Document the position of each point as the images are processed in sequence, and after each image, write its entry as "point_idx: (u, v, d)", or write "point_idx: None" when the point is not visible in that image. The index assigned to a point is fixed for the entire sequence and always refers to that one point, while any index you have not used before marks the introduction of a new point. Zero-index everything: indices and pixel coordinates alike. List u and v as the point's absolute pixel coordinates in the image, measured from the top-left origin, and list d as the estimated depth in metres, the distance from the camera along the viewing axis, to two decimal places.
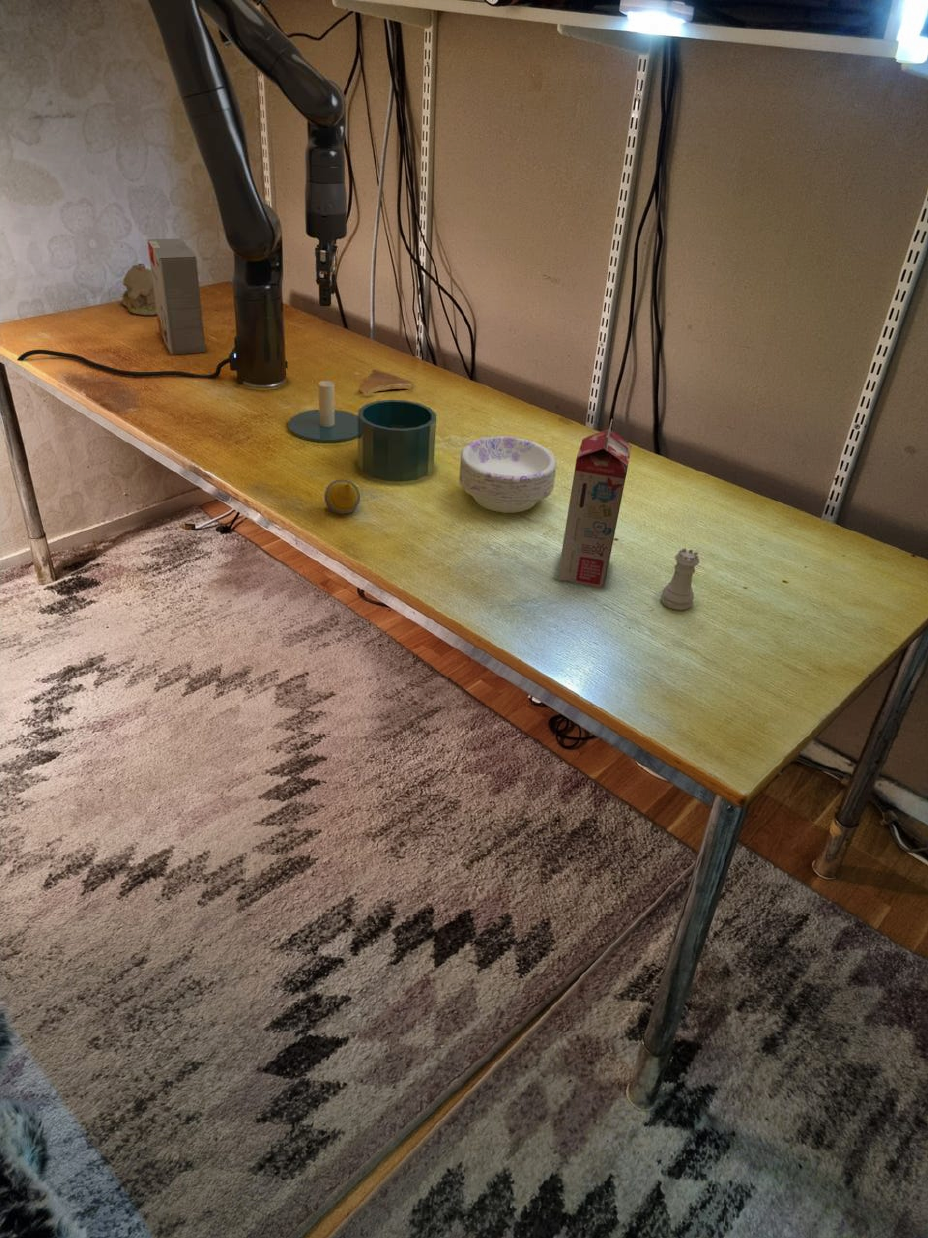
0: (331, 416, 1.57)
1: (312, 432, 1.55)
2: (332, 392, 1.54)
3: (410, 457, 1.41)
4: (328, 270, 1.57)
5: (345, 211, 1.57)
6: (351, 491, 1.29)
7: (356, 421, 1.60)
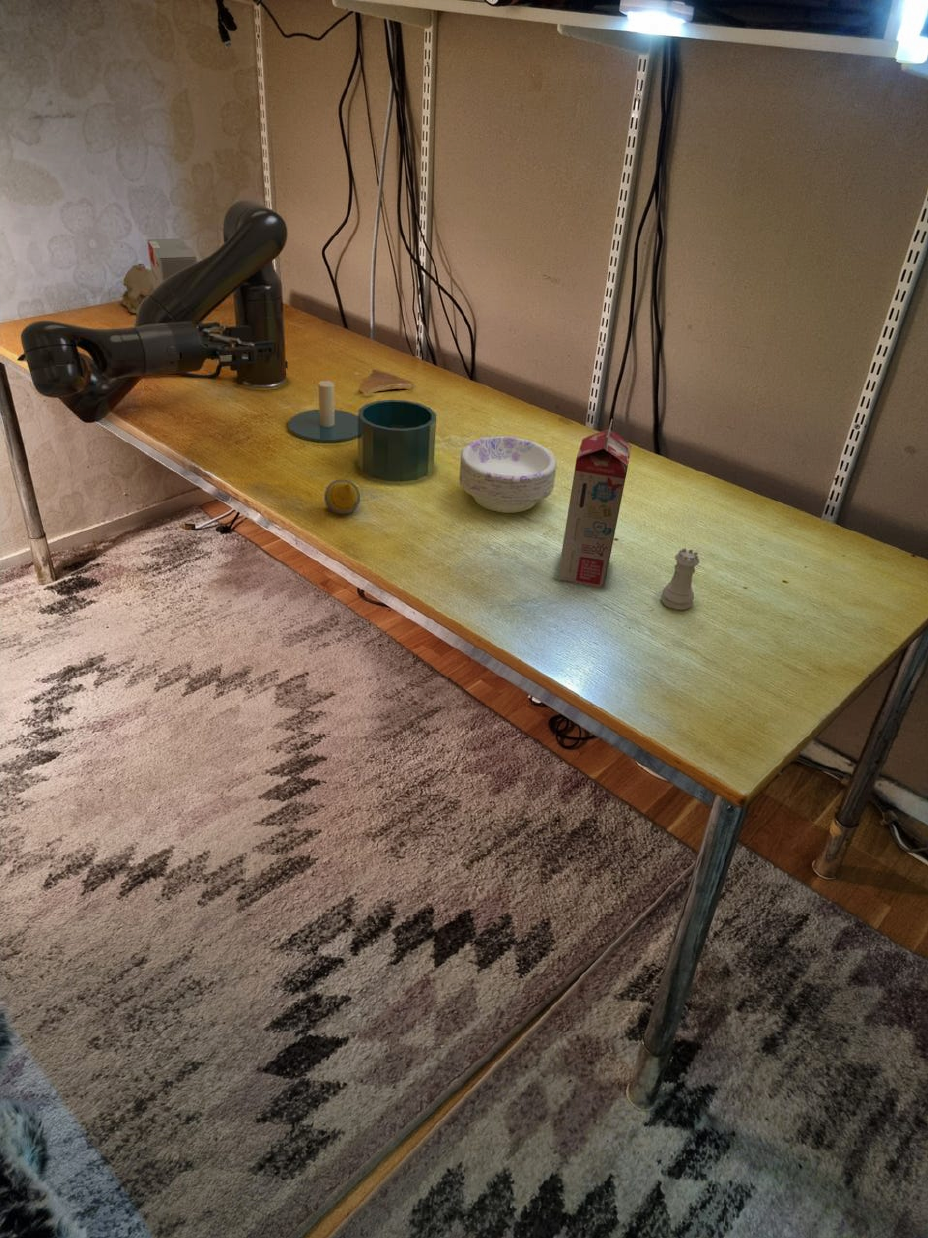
0: (331, 416, 1.57)
1: (312, 432, 1.55)
2: (332, 392, 1.54)
3: (410, 457, 1.41)
4: (241, 350, 1.34)
5: (167, 326, 1.31)
6: (351, 491, 1.29)
7: (356, 421, 1.60)
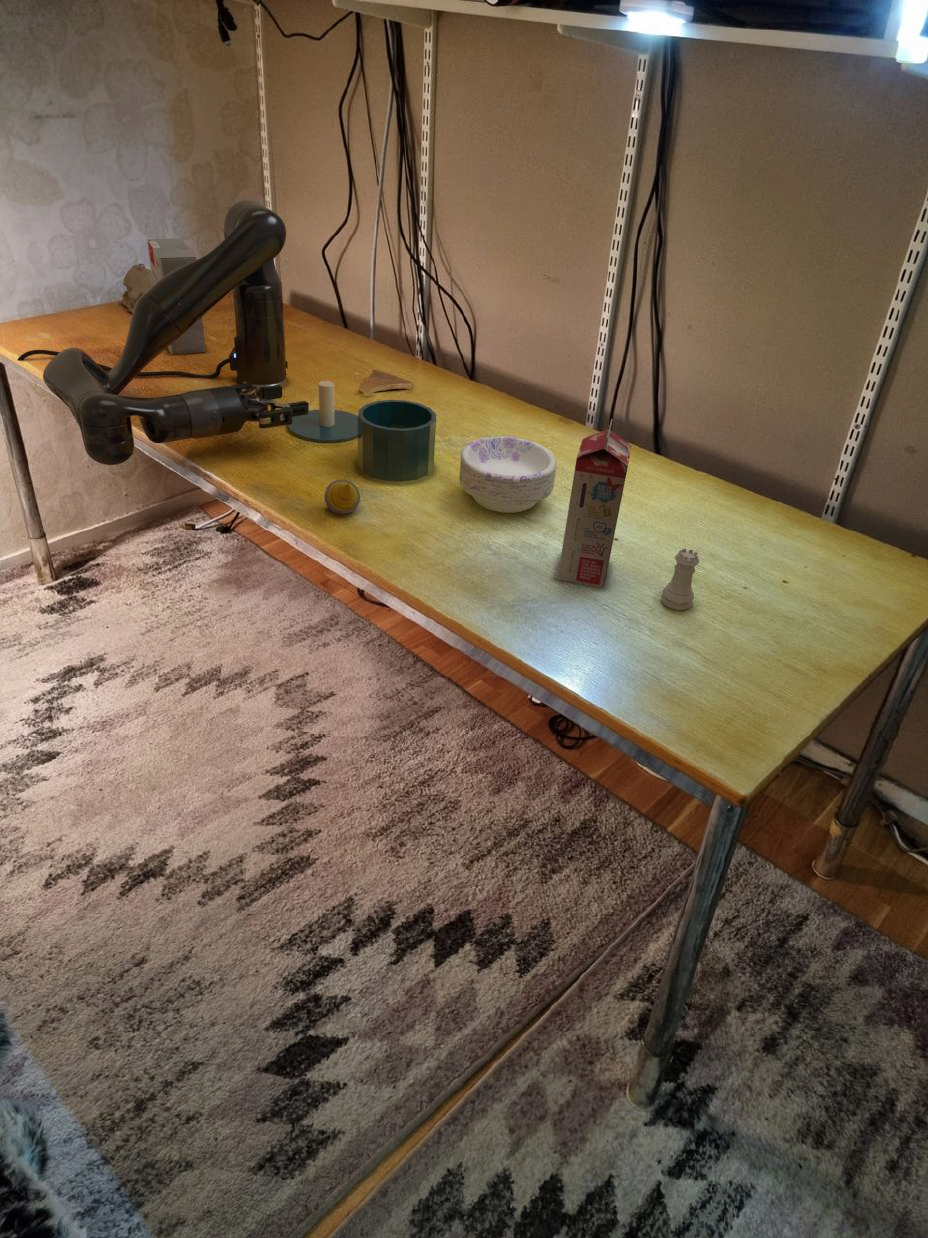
0: (331, 416, 1.57)
1: (312, 432, 1.55)
2: (332, 392, 1.54)
3: (410, 457, 1.41)
4: (279, 413, 1.42)
5: (210, 393, 1.39)
6: (351, 491, 1.29)
7: (356, 421, 1.60)
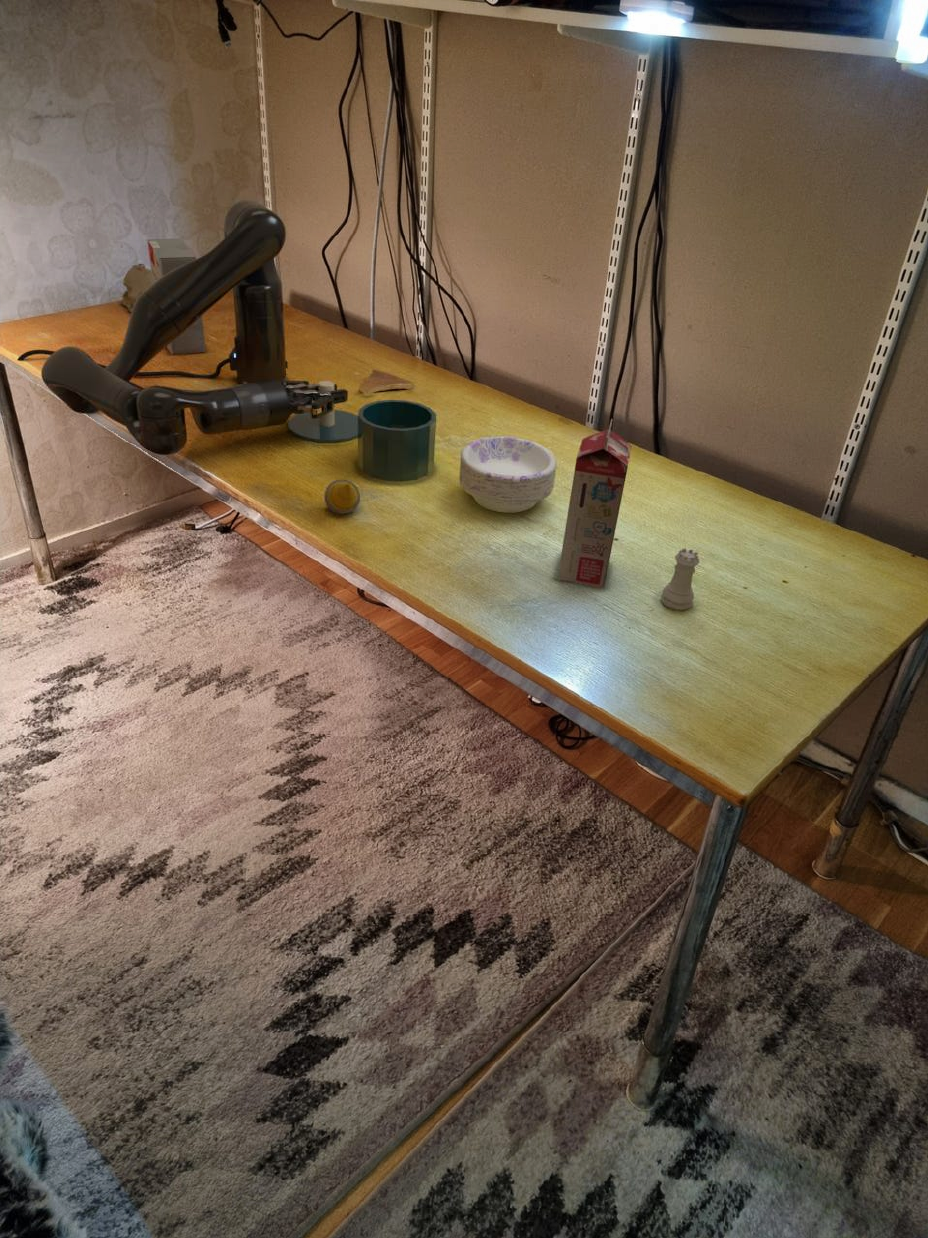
0: (331, 416, 1.57)
1: (312, 432, 1.55)
2: None
3: (410, 457, 1.41)
4: (326, 401, 1.50)
5: (259, 386, 1.44)
6: (351, 491, 1.29)
7: (356, 421, 1.60)
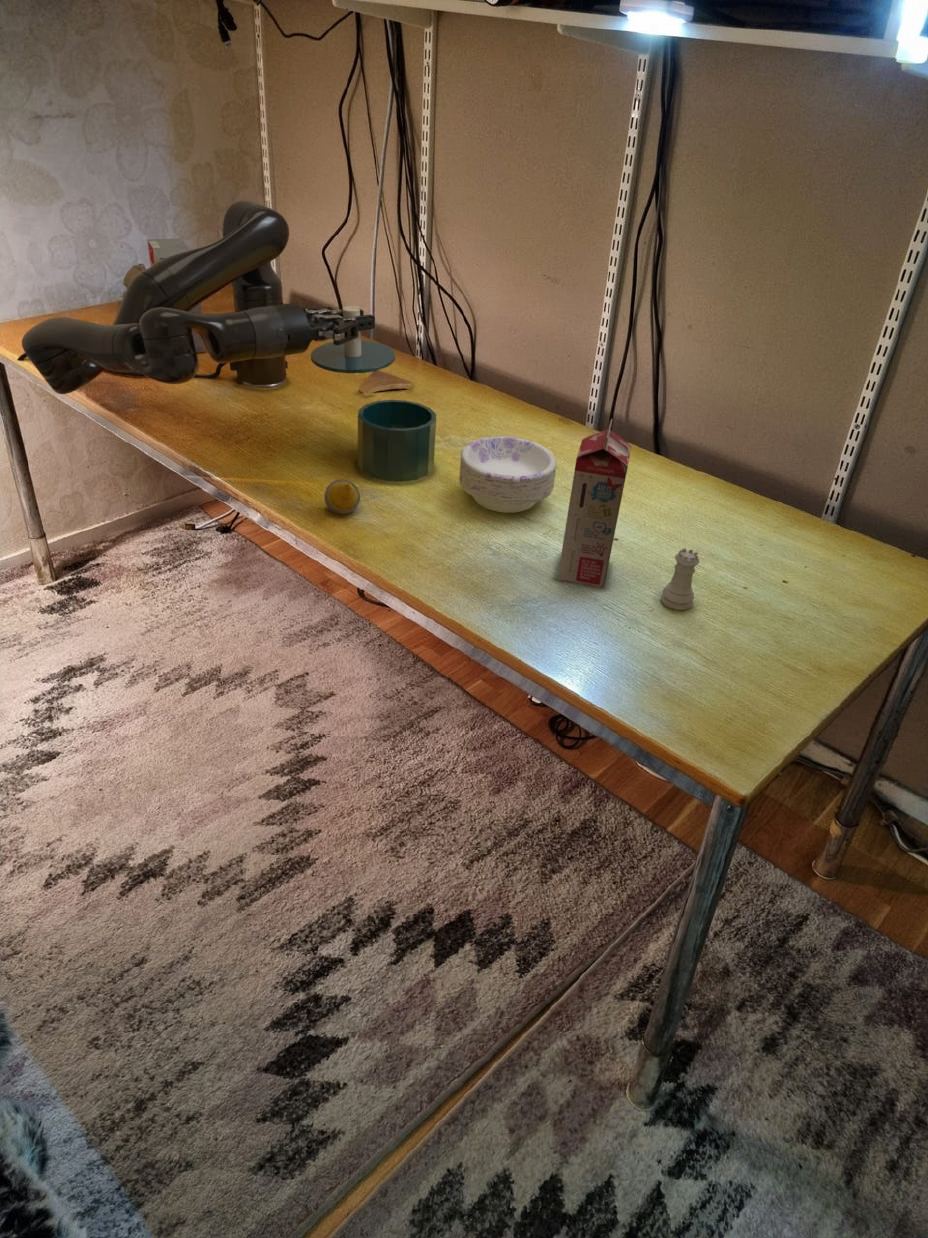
0: (357, 345, 1.43)
1: (335, 362, 1.42)
2: None
3: (410, 457, 1.41)
4: (350, 326, 1.36)
5: (275, 309, 1.32)
6: (351, 491, 1.29)
7: (385, 351, 1.47)
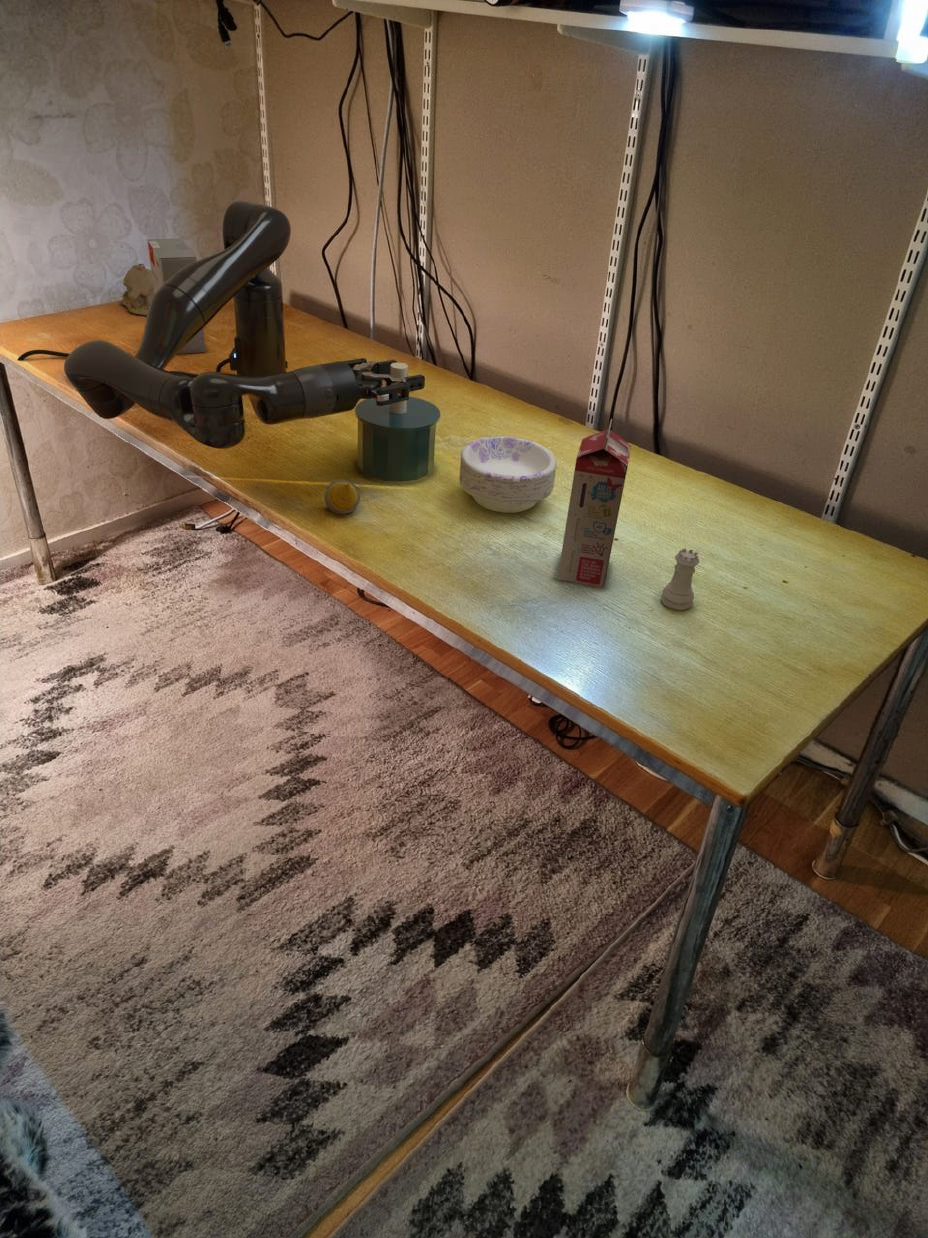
0: (403, 402, 1.41)
1: (381, 419, 1.39)
2: (405, 375, 1.39)
3: (410, 457, 1.41)
4: (397, 388, 1.32)
5: (324, 369, 1.29)
6: (351, 491, 1.29)
7: (430, 408, 1.45)
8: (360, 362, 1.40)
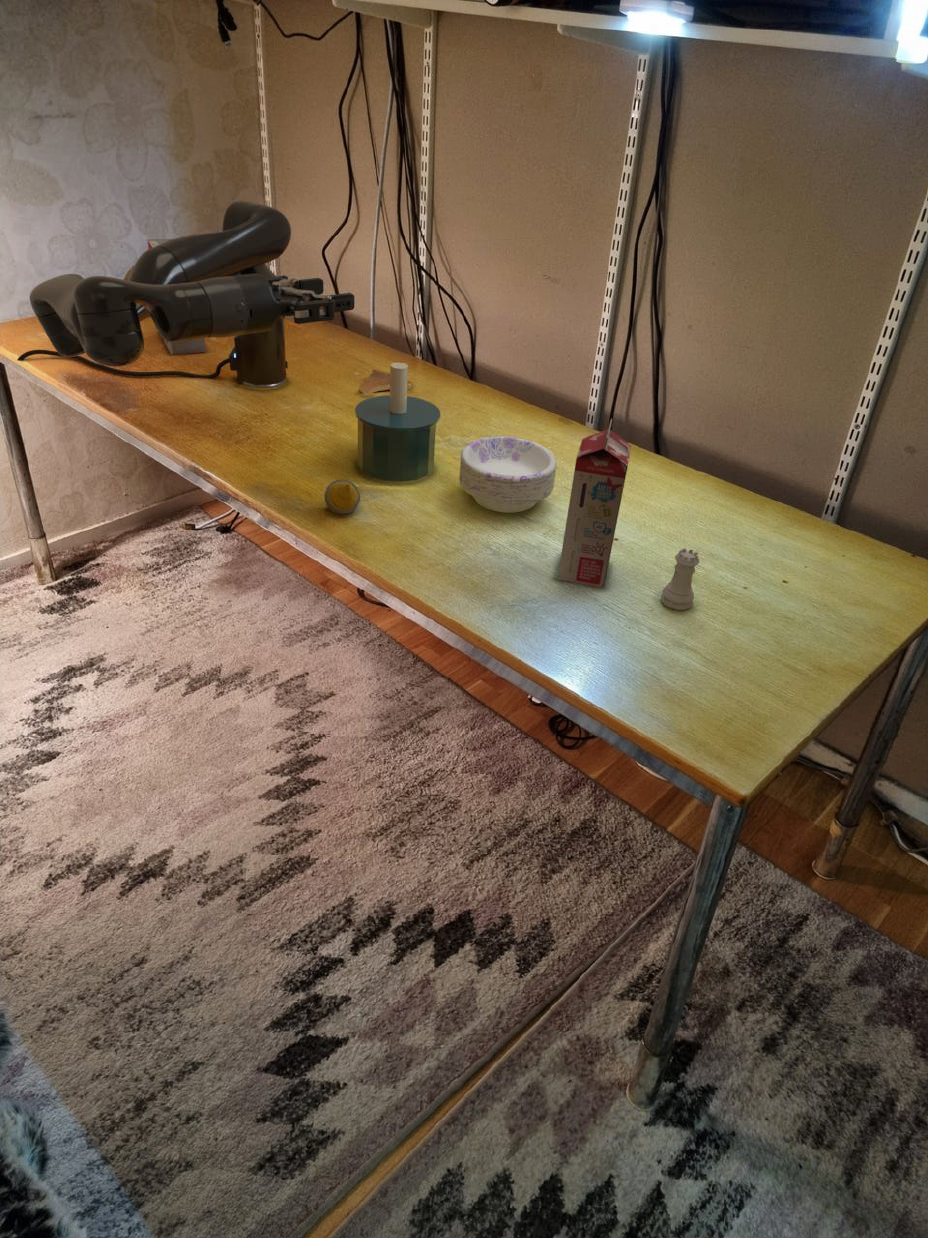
0: (403, 402, 1.41)
1: (381, 419, 1.39)
2: (405, 375, 1.39)
3: (410, 457, 1.41)
4: (318, 304, 1.17)
5: (235, 279, 1.14)
6: (351, 491, 1.29)
7: (430, 408, 1.45)
8: (281, 279, 1.25)
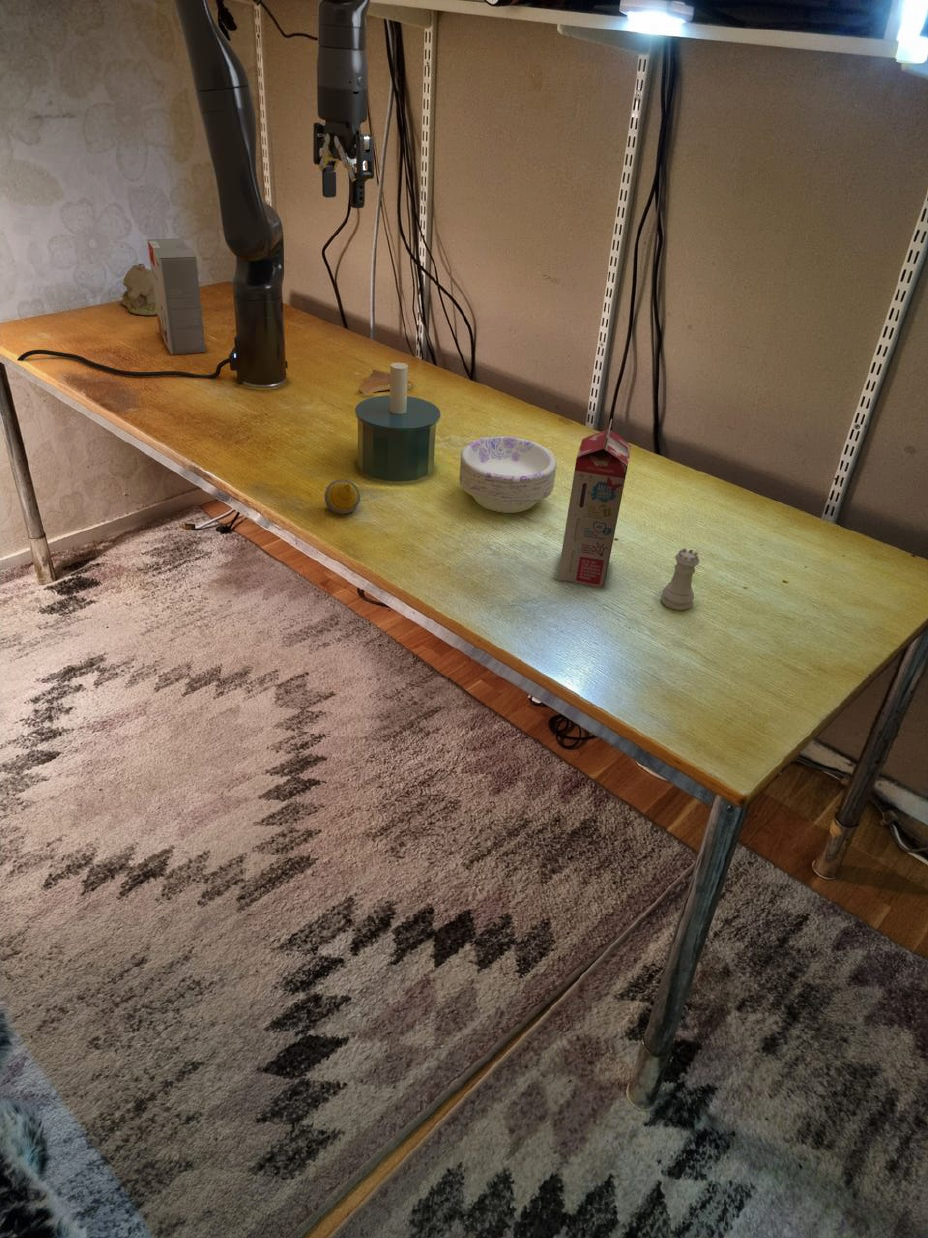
0: (403, 402, 1.41)
1: (381, 419, 1.39)
2: (405, 375, 1.39)
3: (410, 457, 1.41)
4: (372, 159, 1.31)
5: None
6: (351, 491, 1.29)
7: (430, 408, 1.45)
8: None
